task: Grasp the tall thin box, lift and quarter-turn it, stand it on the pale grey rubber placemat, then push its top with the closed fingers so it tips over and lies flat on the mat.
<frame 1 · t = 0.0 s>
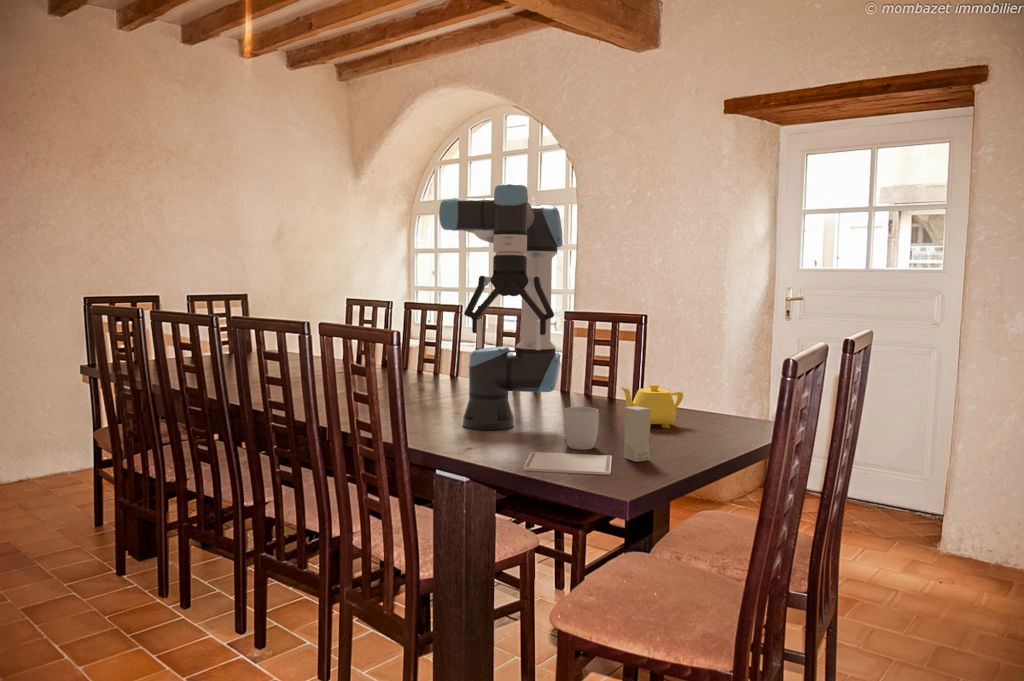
hand: (508, 348, 169), 28 cm above the table, fingers open, 13 cm apart
teapot: (650, 426, 225), on the table
mug: (578, 446, 197), on the table
placemat: (568, 464, 177), on the table
box: (636, 460, 183), on the table
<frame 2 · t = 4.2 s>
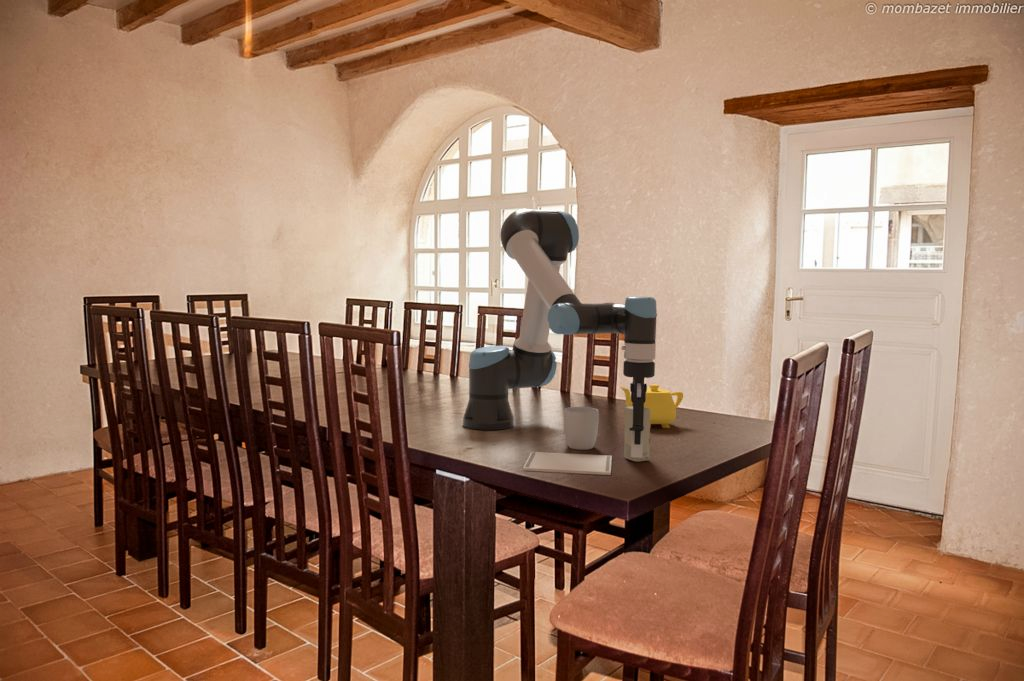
hand: (636, 453, 183), 1 cm above the table, fingers closed on box, 6 cm apart
box: (636, 460, 183), on the table, touching gripper
everything else where it was.
when the fingers open (3 cm above the table, at t = 9.9 s): box stays where it is, resting on placemat.
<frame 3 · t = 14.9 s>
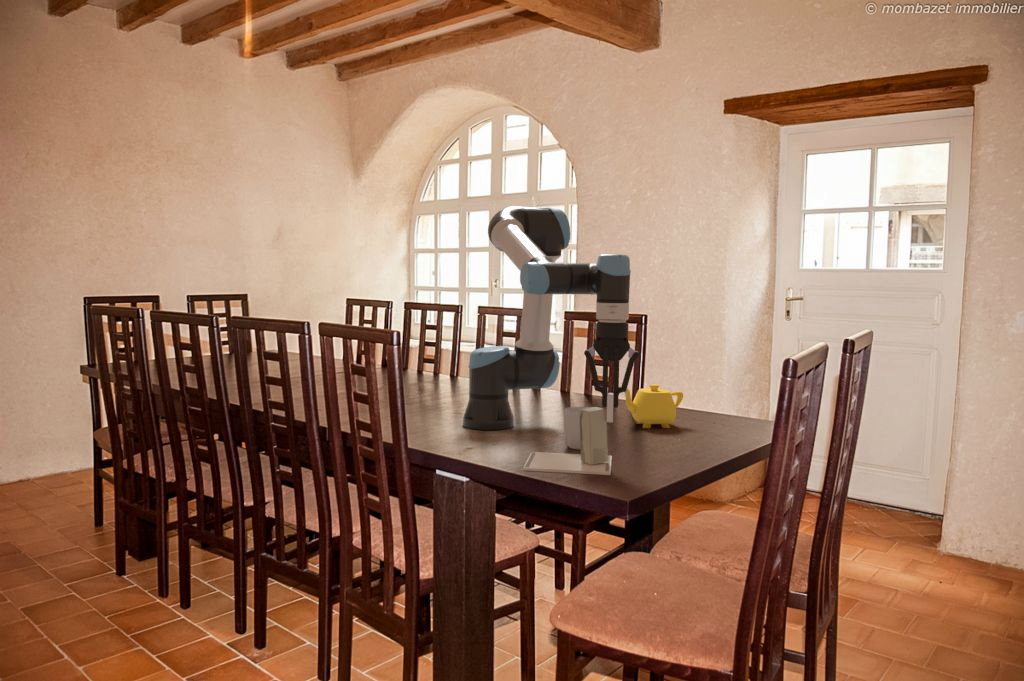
hand: (609, 421, 175), 11 cm above the table, fingers closed
box: (593, 463, 176), point 1 cm above the table, touching gripper, placemat
everything else where it was.
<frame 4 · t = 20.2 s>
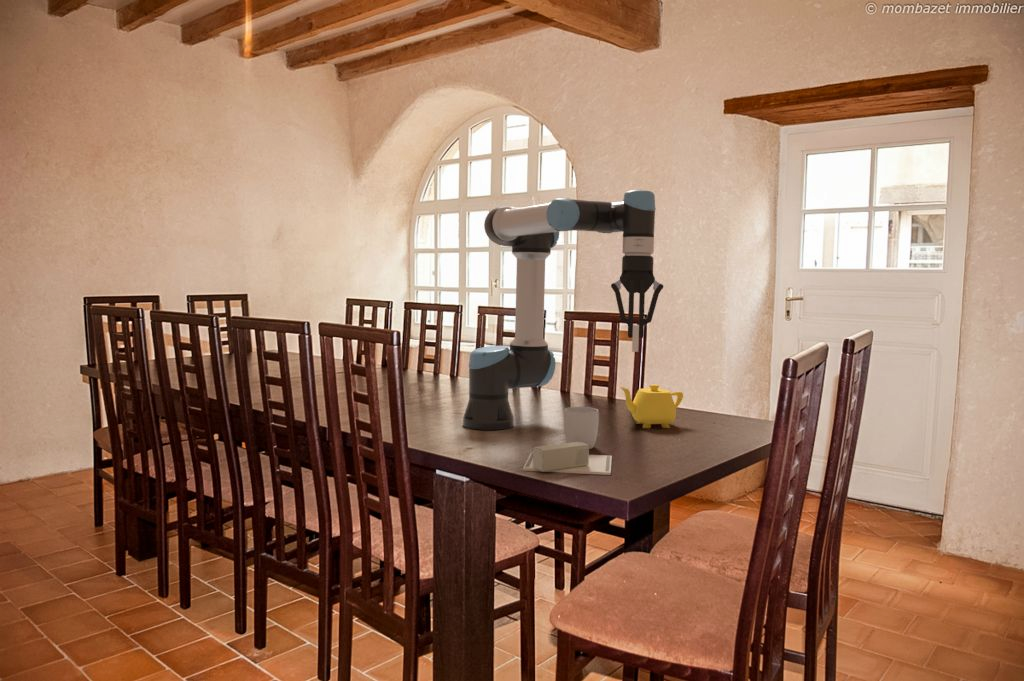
hand: (635, 351, 184), 26 cm above the table, fingers closed
box: (584, 453, 175), point 3 cm above the table, touching placemat
everything else where it was.
at the end: box tilted 89°; box inside the target area (4.0 cm from its centre), point 3.0 cm above the table; the gripper is holding nothing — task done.
